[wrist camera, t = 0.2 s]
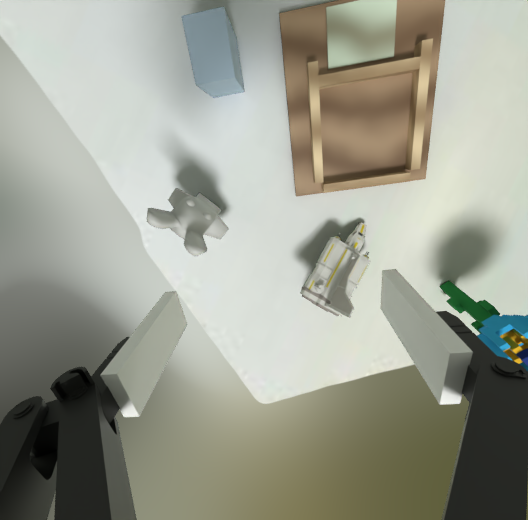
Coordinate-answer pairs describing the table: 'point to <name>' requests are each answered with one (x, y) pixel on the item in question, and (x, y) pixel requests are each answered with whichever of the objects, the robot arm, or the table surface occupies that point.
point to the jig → (360, 91)
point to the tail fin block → (213, 52)
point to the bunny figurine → (190, 220)
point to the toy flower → (493, 325)
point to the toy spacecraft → (338, 273)
